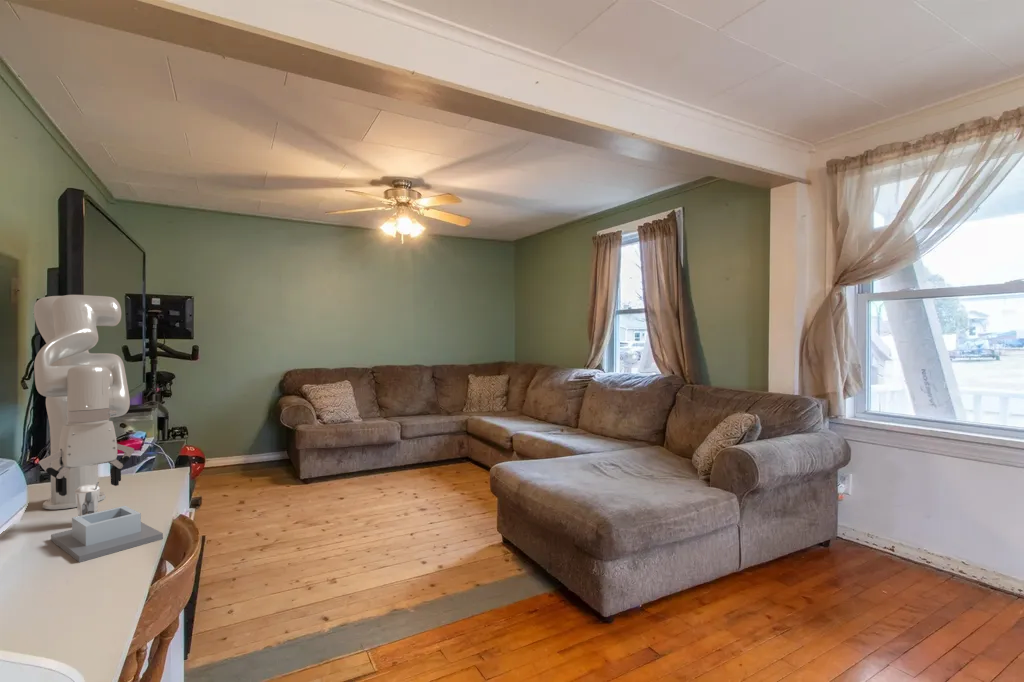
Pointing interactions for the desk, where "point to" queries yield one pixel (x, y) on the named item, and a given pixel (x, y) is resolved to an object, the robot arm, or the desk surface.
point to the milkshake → (87, 498)
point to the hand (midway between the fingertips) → (89, 489)
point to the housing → (105, 533)
